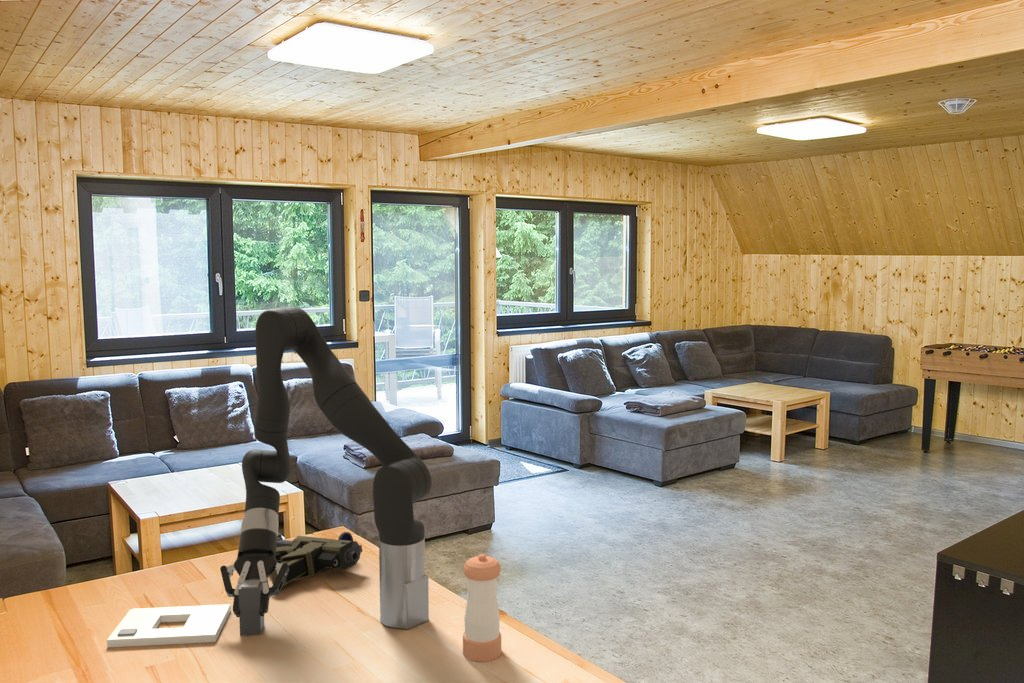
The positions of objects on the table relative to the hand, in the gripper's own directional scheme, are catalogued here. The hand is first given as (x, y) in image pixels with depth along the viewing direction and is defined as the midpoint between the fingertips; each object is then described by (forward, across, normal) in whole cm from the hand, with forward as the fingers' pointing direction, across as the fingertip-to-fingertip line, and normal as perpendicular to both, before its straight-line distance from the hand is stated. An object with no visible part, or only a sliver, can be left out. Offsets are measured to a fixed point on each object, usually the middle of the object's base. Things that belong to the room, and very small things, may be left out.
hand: (250, 615), depth 166 cm
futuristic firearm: (-21, +4, +27) cm, 34 cm away
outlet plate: (0, -16, +6) cm, 17 cm away
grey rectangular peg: (+2, 0, +4) cm, 5 cm away
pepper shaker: (+12, +45, -6) cm, 47 cm away
